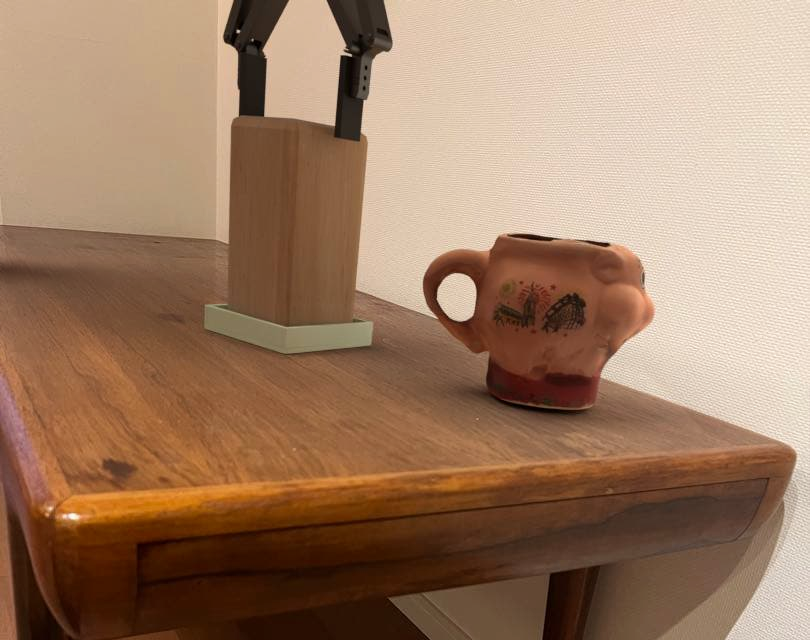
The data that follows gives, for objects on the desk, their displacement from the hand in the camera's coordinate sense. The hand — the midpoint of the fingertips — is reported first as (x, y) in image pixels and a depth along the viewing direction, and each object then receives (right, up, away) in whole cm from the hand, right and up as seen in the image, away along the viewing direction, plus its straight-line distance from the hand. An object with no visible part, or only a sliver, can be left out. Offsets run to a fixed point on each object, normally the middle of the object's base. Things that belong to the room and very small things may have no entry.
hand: (296, 134), depth 76 cm
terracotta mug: (+21, -27, -5) cm, 35 cm away
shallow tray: (-2, -18, +8) cm, 20 cm away
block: (-2, -17, +8) cm, 19 cm away
